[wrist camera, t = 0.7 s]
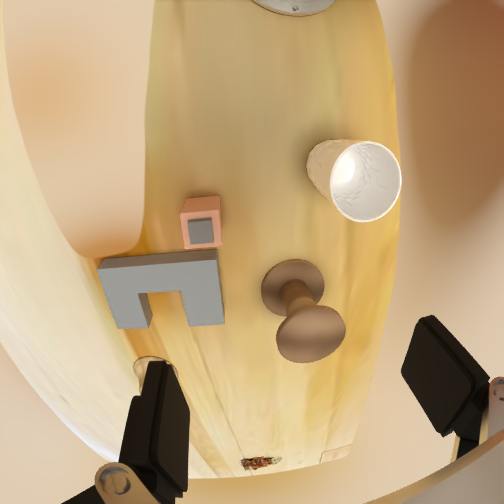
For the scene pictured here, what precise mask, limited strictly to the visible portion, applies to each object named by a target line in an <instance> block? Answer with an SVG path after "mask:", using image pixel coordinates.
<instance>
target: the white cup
mask: <svg viewBox="0 0 504 504" xmlns="http://www.w3.org/2000/svg"><path fill="white" fill-rule="evenodd" d="M306 167H307V173H308V177H309V179H310V180H311V181H312V183H313V184H314V186H315V187H316V188H317V189H318V190H319V191H320V192H321V193H322V195H323V196H324V197H325V198H326V199H327V200H328V201H329V202H330V203H331V204H333V205H334V206H335V207H336V208H337V209H338V210H339V211H340V212H341V213H342V214H343V215H344V216H345V217H347V218H349V219H351V220H353V221H357V222H370V221H374V220H377V219H379V218H381V217H382V216H384V215H385V214H386V213H387V212H388V211H389V210H390V209H391V208H392V207H393V205H394V204H395V202H396V200H397V198H398V196H399V193H400V189H401V182H402V177H401V170H400V166H399V163H398V161H397V159H396V157H395V156H394V155H393V153H392V152H391V151H390V150H389V149H388V148H386V147H385V146H383V145H382V144H379V143H377V142H372V141H362V140H350V139H348V140H347V139H338V140H326V141H323V142H321V143H319V144H317V145H316V146H315V147H314V148H313V149H312V151H311V152H310V153H309V156H308V160H307V164H306Z"/></svg>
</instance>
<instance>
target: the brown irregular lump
mask: <svg viewBox="0 0 504 504" xmlns="http://www.w3.org/2000/svg"><path fill="white" fill-rule="evenodd" d="M263 459H264V457H255V458H253V460H252V461H248V460H244V461H243V462H242V464H243V465H242V466H243V467H244V469H245V470H256V469H258V468H261V467H266V466H267V465H268V464H269V465H270V464H277V462H279V461H280V460H281V459H282V458H281V457H274V458H272V459H265V460H263Z"/></svg>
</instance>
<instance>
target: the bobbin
mask: <svg viewBox="0 0 504 504" xmlns="http://www.w3.org/2000/svg"><path fill="white" fill-rule="evenodd" d="M323 292H324V280H323V277H322V275H321V273H320V271H319V270H318V269H317V268H316V266H314V265H313V264H312V263H310V262H308V261H305V260H299V259H293V260H287V261H284V262H281V263H279V264H277V265H276V266H274V267H273V268H272V269H271V270H270V271H269V272H268V273H267V274H266V276H265V277H264V279H263V282H262V286H261V294H262V299H263V302H264V304H265V306H266V307H267V308H268V309H269V310H270V311H271V312H273V313H275V314H277V315H280V316H286V317H287V318H286V319H285V320H284V321H283V322H282V323H281V325H280V326H279V328H278V331H277V334H276V342H277V346H278V350H279V352H280V354H281V355H282V356H283V357H284V358H286V359H287V360H289V361H292V362H296V363H310V362H314V361H318V360H320V359H323V358H325V357H327V356H328V355H330V354H331V353H333V352H334V351H335V350H336V349H337V348H338V347H339V346H340V344H341V343H342V341H343V339H344V337H345V332H346V327H345V324H344V321H343V319H342V318H341V316H340V314H339V313H338V312H337V311H336V310H334V309H332V308H330V307H327V306H318V305H317V306H316V304H317V303H318V302H319V300H320V299H321V297H322V295H323Z"/></svg>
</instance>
